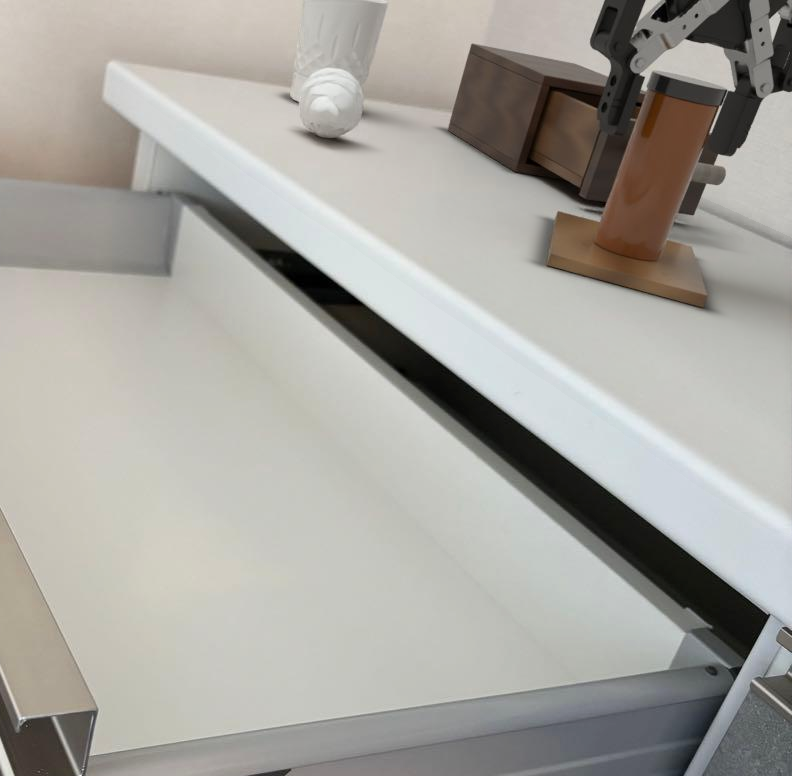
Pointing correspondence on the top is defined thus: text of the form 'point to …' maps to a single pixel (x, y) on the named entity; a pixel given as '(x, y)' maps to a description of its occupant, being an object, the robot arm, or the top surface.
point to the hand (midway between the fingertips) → (665, 143)
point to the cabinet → (513, 102)
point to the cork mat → (625, 262)
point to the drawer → (599, 148)
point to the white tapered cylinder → (337, 38)
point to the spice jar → (658, 164)
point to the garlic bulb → (331, 102)
